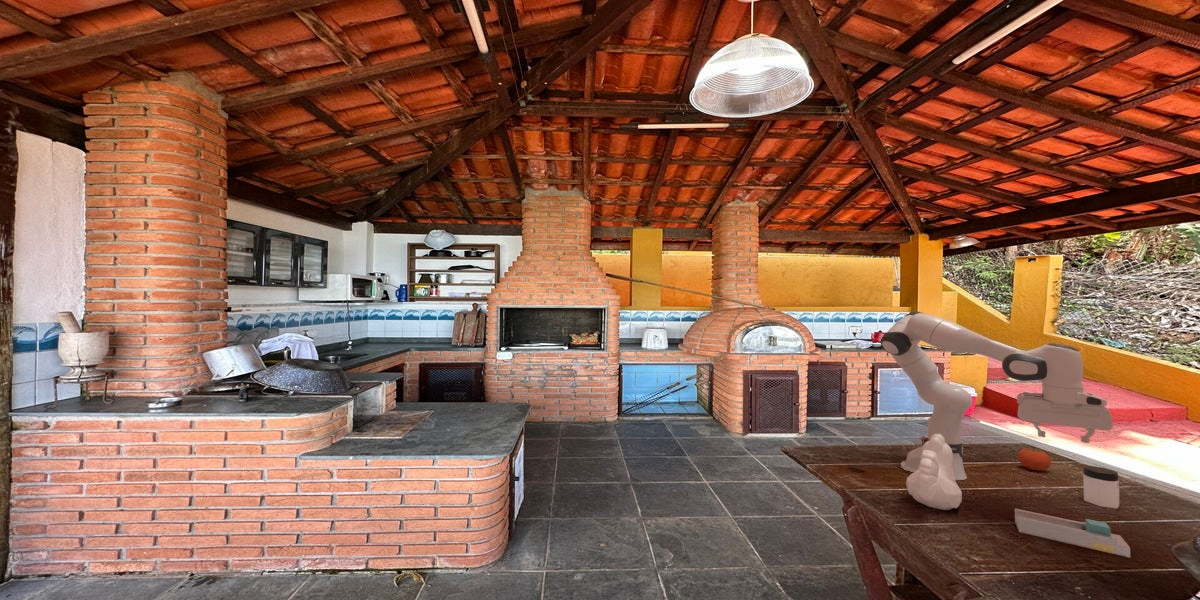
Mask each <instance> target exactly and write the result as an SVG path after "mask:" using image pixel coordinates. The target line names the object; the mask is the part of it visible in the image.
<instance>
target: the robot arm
mask: <svg viewBox="0 0 1200 600" xmlns="http://www.w3.org/2000/svg"><path fill="white" fill-rule="evenodd" d="M920 342H923V343H925V344H928V345H930V346H932V347H935V348H938V349H941V350H944V351H948V352H953V353H969V354H978V355H982V356H985V357H988V358H991V359H993V360H996V361H998V362H999V361H1000V362H1002V363H1001V369H1002V370H1003V372H1004V373H1005V374H1006V376H1008V377H1009V378H1011V379H1014V380H1017V381H1020V382H1032V381H1040V382H1041V383H1042V384H1041V388H1042V392H1041V393H1040V392H1037V393H1036V392H1027V391H1026V392H1025V391H1024V392H1021V393H1019V394H1017V396H1016V403H1017V404H1018V408H1017V417H1018V419H1020V420H1021V421H1024V422H1029V423H1030V422H1032V425H1033V427H1034V428H1035V429H1036V430H1037V436H1038V438H1039V437H1041V438H1046V431H1045V430H1042V429H1040V427H1041V424H1047V425H1057V426H1064V427H1073V428H1082V429H1085V431H1086V433H1085V435H1080V442H1081V443H1084V444H1090V439H1091V438H1092V436H1094V434H1096V430H1098V431H1106V432H1109V431H1111V430H1112V429H1113V428H1114V424H1113V423H1114V422H1113V416H1112V413H1111V411H1110V410H1109V408H1107V407H1106V406H1107V405H1108V401H1107V400H1106V399H1105V398H1103V397H1101V396H1097V395H1094V394H1092V393H1090V392H1084V385H1083V382H1082V378H1083V376H1084V363H1083V356H1082V354H1081V352H1080V350H1079V349H1077V348H1076V347H1074V346H1070V345H1067V344H1060V343H1052V342H1051V343H1045V344H1044V345H1041V346H1039V347H1036V348H1032V349H1021V348H1019V347H1018V348H1017V347H1015V346H1012V345H1009V344H1006V343H1003V342H1000V341H997V340H994V339H992V338H989V337H986V336H983V335H981V334H979V333H977V332H975V331H973V330H970V329H968V328H967V327H965V326H963V325H960V324H958V323H956V322H953V321H951V320H948V319H946V318H942V317H939V316H935V315H932V314H927V313H923V312H920V311H917V310H916V311H912V312H908V313H907V314H905V315H904V316H903V317H902V318H900V319H899V320H898V321H896V322H895V323H894V324H893V325H892V326H891V327H890V328H889V329H888V330H887V331H886V332H885V333H883V335H882V337H881V338H880V345H881V346H882V348H883V350H884V351H885V352H887V353H888V354H890V355H891V356H892V358H893V359H894V361H895V362H896V364H898V366H899V367H900V368H901V370H902V371H903V372H905V374H906V375H907V377H908V378H909V379H910V380H911V382H912V384H913V385H914V387H915V389H916V393H917V395H918V396H919V397H920V399H921V400H923V401H924V402H925V403H927V404H929V405H932V406H933V410H932V414H931V415H930V417H929V418H928V420H927V423H926V424H927V437H926V436H925V435H924V436H923V435H922V436H921V437H920V440H921V446H918V447H917V448H915V449H912V450H910V451H909V452H908V454H907V456H906V459H905V460H903V461H901V462H900V465H901V467H900V468H903V469H904V470H907V471H910V472H909V473H911V472H916V471H917V470H918V468H919V465H920V458H921V454H922V449H923V445H924V444H925V443H926V442H927V441H929V440H930V438H931V436H932V435H934V434H941V435H942V436H943V437H944V439H945V443H946V444H948V445H949V446H950V448H951V450H952V453H953V462H952V465H953V472H954V476H955V479H956V481H964V480H967V478H968V477H967V474H966V471H965V469H964V463H963V462H964V461H963V456H964V448H963V443H962V421H963V418H964V415H965V413H966V412H967V411H968V410H969V409H970V408H971V407H972V404H973V397H972V396H971V393H969V392H968V391H967V390H966V389H964V388H963V387H960V386H958V385H956V384H953V383H952V384H951V383H949V382H946V381H945V380H944V379H943V378H942V377H941V375H940V374H939V371H938V370H939V369H938V365H936V363H935V362H934V361H933V360H932V359H931V358H930V357H929V355H928V354H927V353H926V352H925V350H923V349H922V347H921V346H920V345H919V343H920ZM903 469H902V470H903ZM904 470H903V471H904ZM907 471H906V472H907Z"/></svg>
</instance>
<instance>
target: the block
mask: <svg viewBox="0 0 1200 600" xmlns="http://www.w3.org/2000/svg"><path fill="white" fill-rule="evenodd" d="M1085 523H1086V531H1090V532H1094V533H1099V534H1103V535H1108V536H1111V534H1112V532H1111V531H1112V529H1111V527H1110V526H1109V525H1108V524H1107V522H1105V521H1104V522H1103V521H1099V520H1093V519H1090V518H1085Z"/></svg>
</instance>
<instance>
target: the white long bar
mask: <svg viewBox="0 0 1200 600" xmlns="http://www.w3.org/2000/svg"><path fill="white" fill-rule="evenodd" d="M1014 522H1015V525H1016V528H1017V531H1018V533H1021V534H1026V535H1031V536H1035V537H1039V538H1043V539H1047V540H1052V541H1057V542H1060V543H1064V544H1068V545H1073V546H1078V547H1082V548H1087V549H1091V550H1096V551H1098V552H1099V551H1100V552H1103V553H1107V554H1112V555H1117V556H1121V557H1125V558H1129V559H1131V547H1130V546H1129V544H1128V543H1127V542H1126V541H1125V540H1124V538H1123V537H1122V536H1121V535H1120V534H1115V533H1114V534H1113V533H1111V536H1108V535H1103V534H1099V533H1094V532H1090V531H1086V522H1083V521H1082V522H1081V521H1077V520H1072V519H1067V518H1063V517H1059V516H1054V515H1048V514H1043V513H1038V512H1033V511H1029V510H1025V509H1019V508H1014Z"/></svg>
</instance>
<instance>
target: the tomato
mask: <svg viewBox="0 0 1200 600" xmlns="http://www.w3.org/2000/svg"><path fill="white" fill-rule="evenodd" d="M1032 447H1033V448H1031V447H1027V448H1026V447H1025V448H1023V449H1021V450H1019V452H1018V454H1017V459H1018V461H1019V463H1020V464H1022V466H1024V467H1025V468H1026V469H1029V470H1032V471H1036V472H1037V471H1038V472H1039V471H1040V472H1041V471H1045V470H1047V469H1049V468H1050V467H1051V465H1052V459H1051V458H1050V456H1049V455H1048V453H1046V452H1044V451H1043V450H1041V449H1036V448H1035V447H1034V446H1032Z"/></svg>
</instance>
